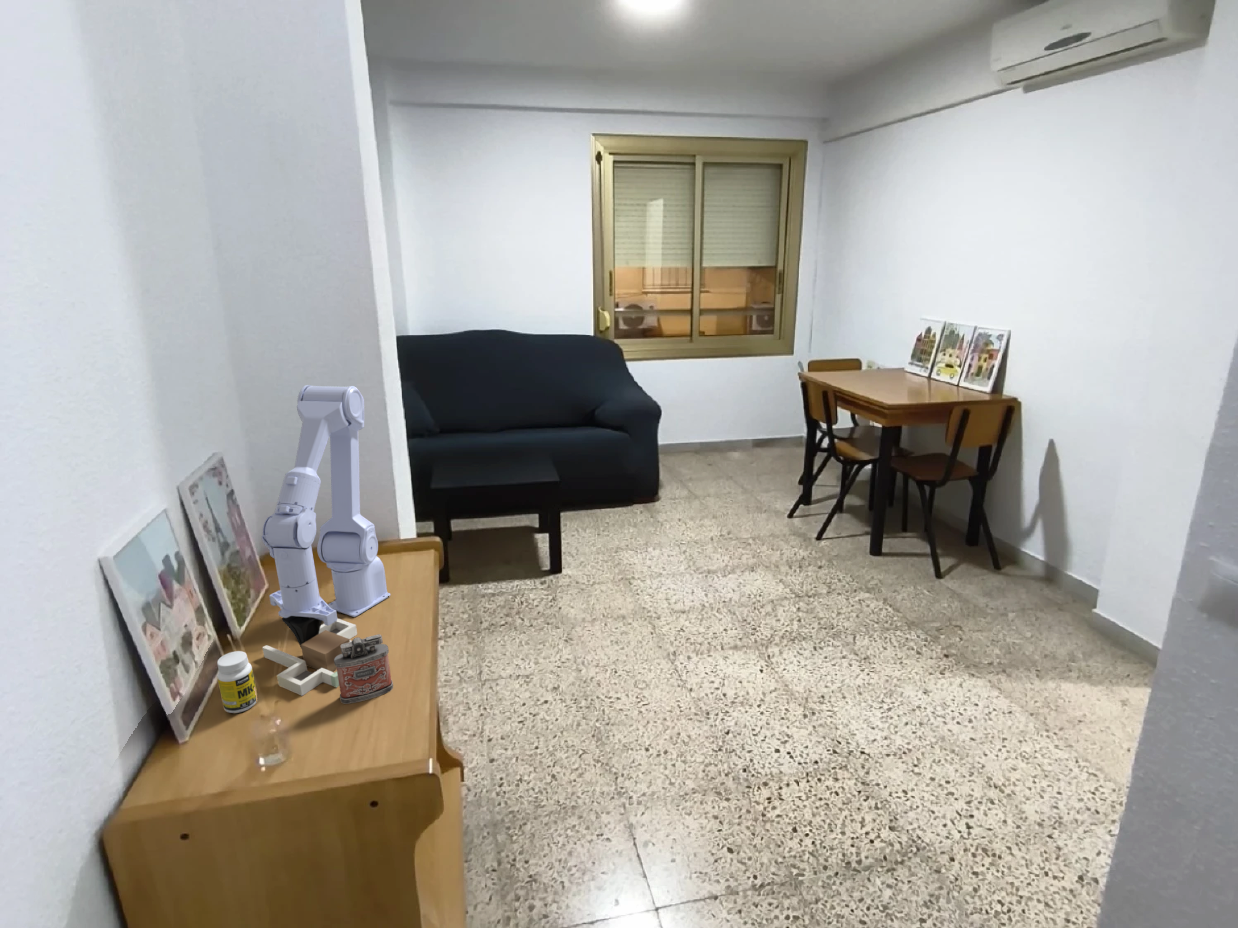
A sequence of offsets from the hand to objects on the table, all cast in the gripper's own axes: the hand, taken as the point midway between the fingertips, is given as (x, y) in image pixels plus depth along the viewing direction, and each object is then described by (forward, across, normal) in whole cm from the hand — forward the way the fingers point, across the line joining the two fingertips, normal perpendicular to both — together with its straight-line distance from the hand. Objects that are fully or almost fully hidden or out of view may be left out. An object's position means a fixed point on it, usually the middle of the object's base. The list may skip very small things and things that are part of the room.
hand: (309, 648), depth 117 cm
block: (+1, +4, 0) cm, 5 cm away
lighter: (+2, +17, -3) cm, 17 cm away
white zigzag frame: (+1, +2, 0) cm, 3 cm away
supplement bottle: (+2, +1, -14) cm, 14 cm away
